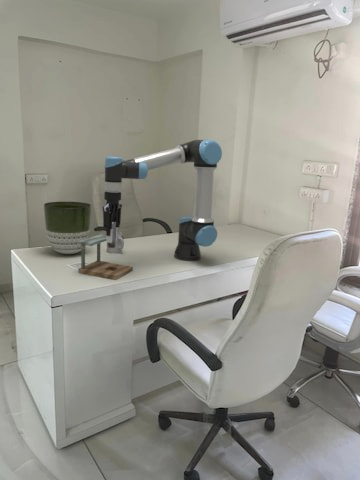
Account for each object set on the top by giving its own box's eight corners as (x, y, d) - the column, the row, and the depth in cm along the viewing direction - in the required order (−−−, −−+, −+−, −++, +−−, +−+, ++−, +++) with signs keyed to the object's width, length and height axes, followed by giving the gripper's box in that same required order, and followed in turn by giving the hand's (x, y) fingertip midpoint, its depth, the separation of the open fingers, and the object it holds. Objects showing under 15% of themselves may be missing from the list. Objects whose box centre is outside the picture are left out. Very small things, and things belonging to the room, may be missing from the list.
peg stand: (132, 270, 180) (133, 240, 177) (115, 280, 166) (116, 247, 162) (97, 264, 187) (97, 235, 184) (78, 272, 172) (78, 241, 169)
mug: (103, 251, 212) (103, 232, 209) (115, 248, 218) (115, 230, 216) (117, 255, 204) (117, 236, 202) (128, 253, 211) (129, 234, 208)
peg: (110, 245, 175) (110, 220, 172) (116, 246, 173) (117, 221, 171) (106, 247, 171) (106, 221, 169) (112, 248, 170) (113, 222, 167)
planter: (99, 254, 205) (100, 206, 198) (59, 261, 187) (58, 209, 181) (76, 245, 221) (75, 200, 214) (36, 251, 203) (35, 202, 197)
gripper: (115, 189, 175) (113, 237, 181) (95, 191, 160) (94, 243, 165) (129, 191, 173) (127, 239, 178) (110, 193, 158) (109, 246, 163)
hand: (111, 241), depth 172 cm, fingers closed on peg, 3 cm apart
